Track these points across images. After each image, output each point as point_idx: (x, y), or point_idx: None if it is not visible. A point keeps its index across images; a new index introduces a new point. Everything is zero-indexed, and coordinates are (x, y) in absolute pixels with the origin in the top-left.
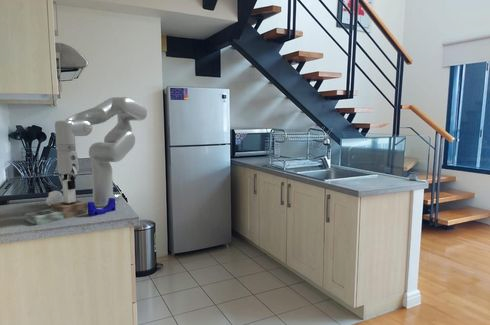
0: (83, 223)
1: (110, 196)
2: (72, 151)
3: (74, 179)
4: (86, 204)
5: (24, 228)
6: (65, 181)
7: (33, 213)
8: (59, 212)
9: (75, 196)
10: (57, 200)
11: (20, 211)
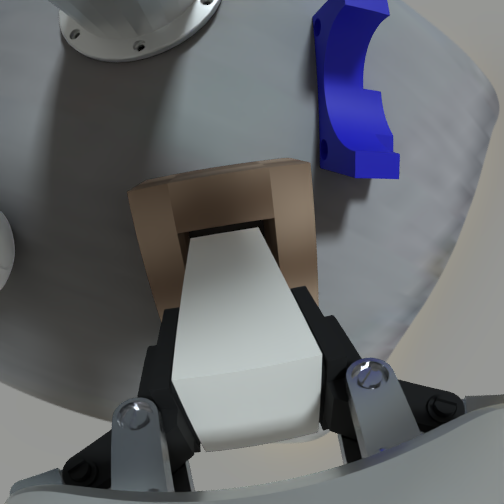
0: (430, 259)
1: None
2: None
3: (388, 378)
4: (305, 162)
5: None
6: (284, 435)
7: None
8: None
9: (266, 244)
10: (6, 246)
11: (33, 365)
